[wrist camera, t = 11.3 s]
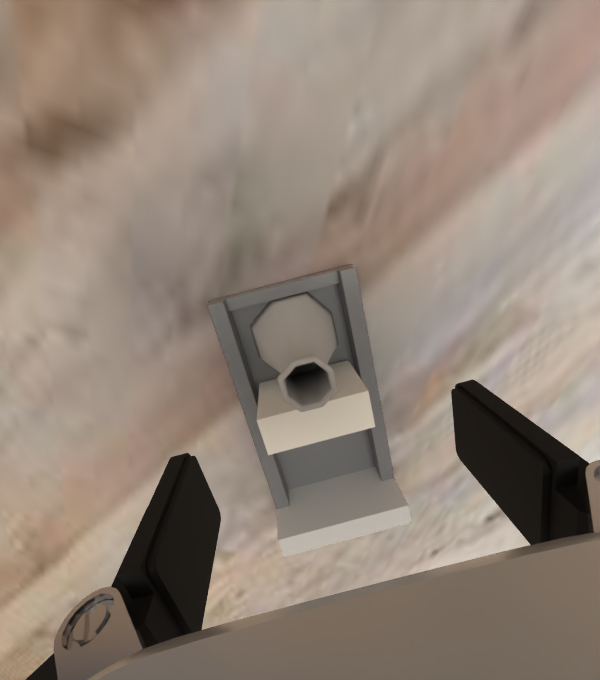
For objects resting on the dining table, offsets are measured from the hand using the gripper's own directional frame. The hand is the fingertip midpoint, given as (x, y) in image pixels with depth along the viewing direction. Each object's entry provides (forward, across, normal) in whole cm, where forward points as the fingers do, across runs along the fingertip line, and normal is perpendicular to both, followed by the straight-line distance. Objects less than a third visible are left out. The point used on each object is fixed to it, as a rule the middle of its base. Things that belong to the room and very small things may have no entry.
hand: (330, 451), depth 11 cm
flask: (+16, 0, +1) cm, 16 cm away
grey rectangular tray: (+17, 0, +7) cm, 18 cm away
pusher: (+16, 0, +6) cm, 17 cm away
